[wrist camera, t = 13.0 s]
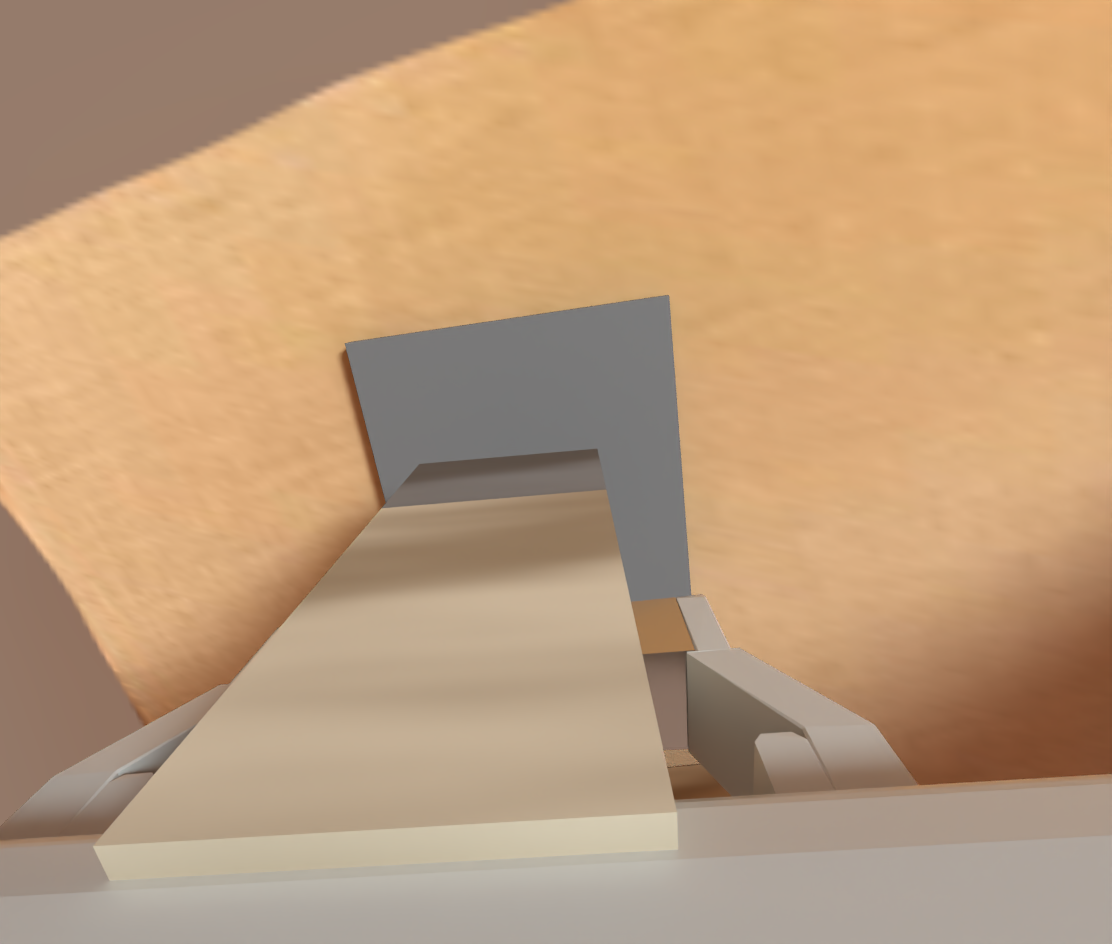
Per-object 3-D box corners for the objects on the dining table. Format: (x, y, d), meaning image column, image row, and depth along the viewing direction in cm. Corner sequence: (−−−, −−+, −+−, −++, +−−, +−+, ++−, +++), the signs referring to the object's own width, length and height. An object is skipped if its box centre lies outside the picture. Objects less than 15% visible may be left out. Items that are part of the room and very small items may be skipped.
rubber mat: (351, 341, 17) (344, 343, 17) (665, 295, 17) (669, 295, 16) (442, 698, 22) (438, 708, 21) (693, 670, 21) (697, 680, 21)
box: (419, 464, 14) (92, 845, 4) (597, 448, 14) (677, 813, 4) (447, 617, 15) (248, 1168, 6) (608, 606, 15) (688, 1152, 5)
